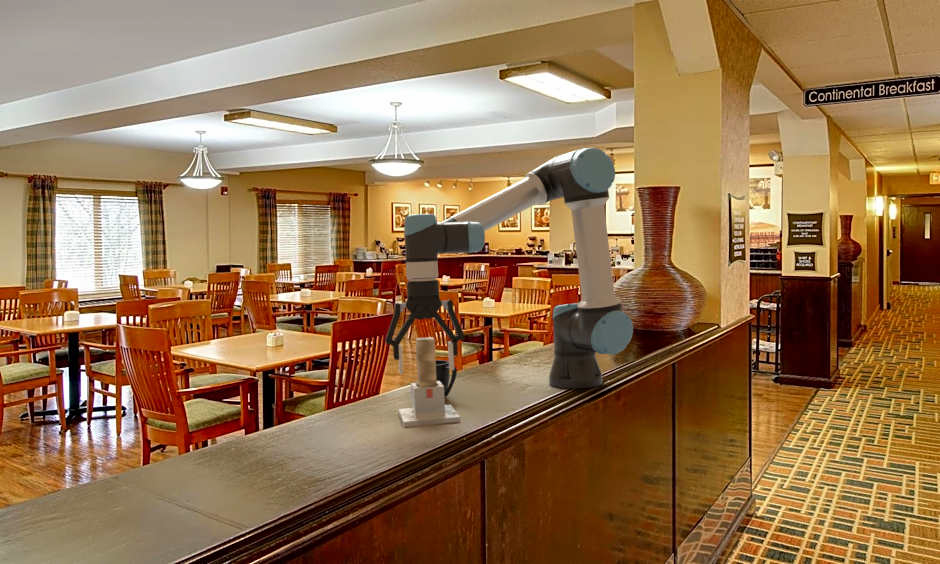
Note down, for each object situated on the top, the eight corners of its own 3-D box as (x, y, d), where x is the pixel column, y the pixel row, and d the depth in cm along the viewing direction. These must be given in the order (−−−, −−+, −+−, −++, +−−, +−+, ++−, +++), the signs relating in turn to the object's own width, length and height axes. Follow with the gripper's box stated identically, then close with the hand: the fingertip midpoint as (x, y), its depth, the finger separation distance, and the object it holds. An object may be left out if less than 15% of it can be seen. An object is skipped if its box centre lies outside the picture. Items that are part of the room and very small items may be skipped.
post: (436, 414, 163) (432, 336, 162) (439, 419, 159) (435, 339, 158) (418, 416, 162) (414, 338, 162) (420, 420, 158) (417, 340, 157)
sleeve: (450, 409, 168) (449, 377, 168) (460, 421, 156) (458, 387, 155) (398, 413, 166) (397, 381, 165) (404, 427, 153) (402, 392, 153)
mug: (444, 404, 174) (442, 367, 174) (414, 398, 183) (412, 363, 182) (466, 398, 180) (465, 362, 180) (436, 392, 189) (435, 359, 188)
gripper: (468, 276, 165) (472, 365, 166) (370, 281, 160) (375, 372, 162) (474, 277, 158) (478, 370, 159) (372, 282, 153) (377, 378, 154)
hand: (426, 371), depth 160 cm, fingers open, 11 cm apart
